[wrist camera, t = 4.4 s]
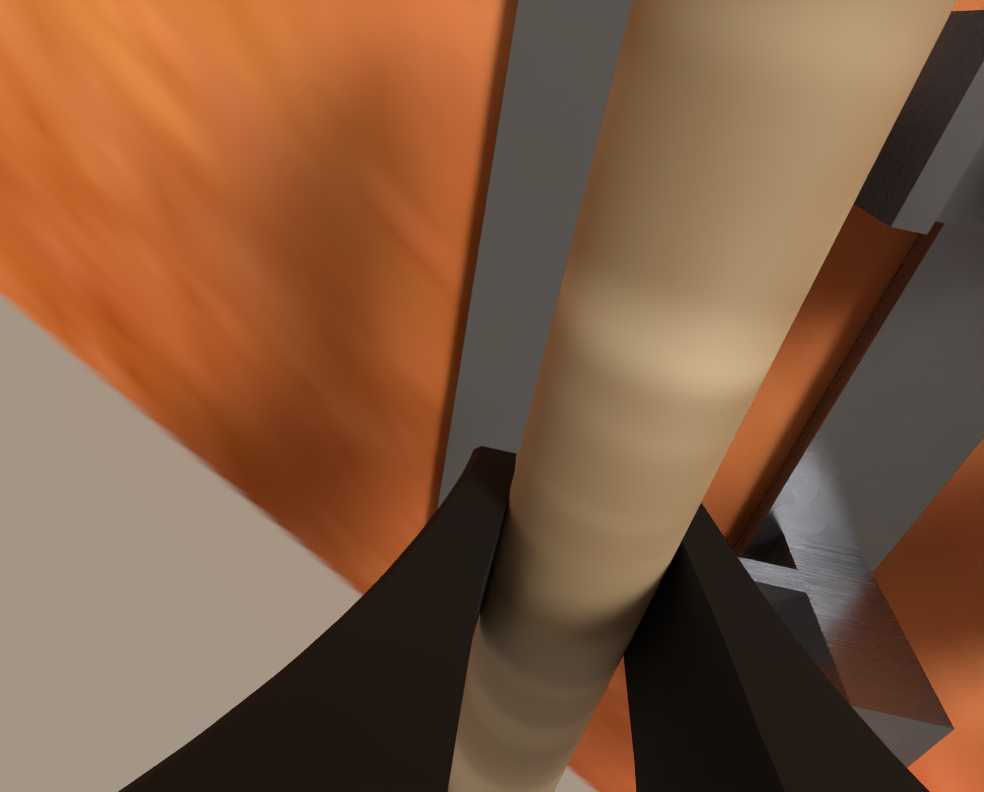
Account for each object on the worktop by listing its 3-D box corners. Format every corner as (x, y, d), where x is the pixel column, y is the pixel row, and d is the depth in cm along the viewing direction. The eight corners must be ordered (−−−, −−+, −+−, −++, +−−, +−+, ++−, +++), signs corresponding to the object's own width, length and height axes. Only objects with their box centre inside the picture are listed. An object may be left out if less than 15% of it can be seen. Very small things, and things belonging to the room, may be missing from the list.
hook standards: (1286, 25, 11) (1921, 23, 6) (817, 618, 20) (893, 809, 15) (908, -50, 11) (1194, -117, 6) (624, 575, 21) (638, 751, 16)
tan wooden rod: (683, -352, 5) (833, -681, 2) (987, -276, 5) (1383, -523, 3) (430, 759, 15) (416, 885, 13) (528, 770, 15) (531, 897, 13)
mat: (883, -131, 10) (894, -137, 10) (590, 587, 21) (590, 596, 21) (551, -195, 10) (550, -203, 10) (431, 551, 21) (429, 559, 21)
